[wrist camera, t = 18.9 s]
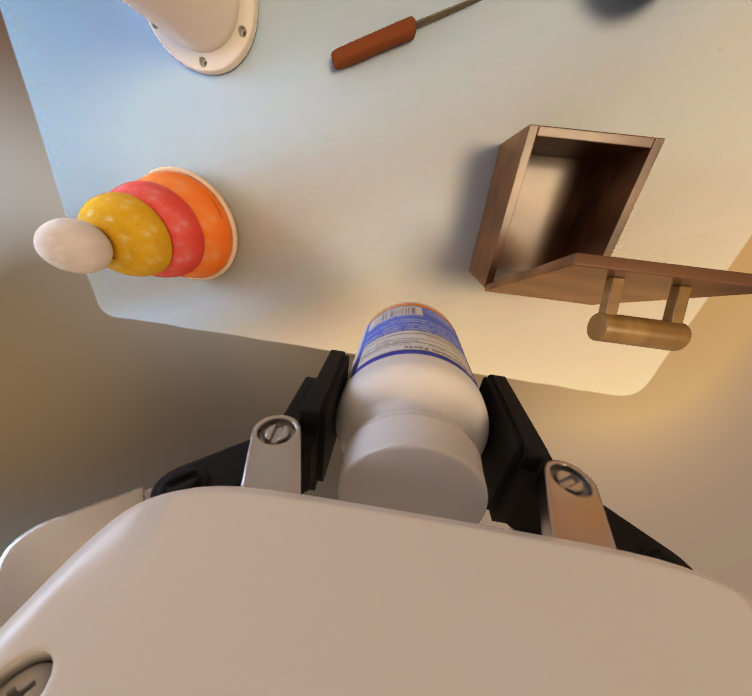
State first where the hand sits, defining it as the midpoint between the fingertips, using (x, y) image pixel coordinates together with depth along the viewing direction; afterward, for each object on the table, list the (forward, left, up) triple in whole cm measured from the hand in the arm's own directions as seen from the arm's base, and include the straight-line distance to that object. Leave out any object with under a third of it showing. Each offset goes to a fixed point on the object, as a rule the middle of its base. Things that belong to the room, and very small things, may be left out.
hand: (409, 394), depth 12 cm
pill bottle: (0, 0, -5) cm, 5 cm away
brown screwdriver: (-23, -4, -32) cm, 39 cm away
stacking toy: (-1, -31, -32) cm, 44 cm away
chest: (-7, +14, -31) cm, 35 cm away
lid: (-3, +14, -15) cm, 21 cm away
